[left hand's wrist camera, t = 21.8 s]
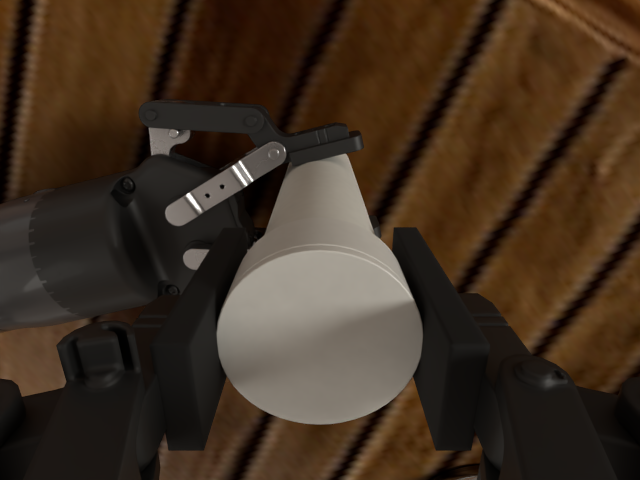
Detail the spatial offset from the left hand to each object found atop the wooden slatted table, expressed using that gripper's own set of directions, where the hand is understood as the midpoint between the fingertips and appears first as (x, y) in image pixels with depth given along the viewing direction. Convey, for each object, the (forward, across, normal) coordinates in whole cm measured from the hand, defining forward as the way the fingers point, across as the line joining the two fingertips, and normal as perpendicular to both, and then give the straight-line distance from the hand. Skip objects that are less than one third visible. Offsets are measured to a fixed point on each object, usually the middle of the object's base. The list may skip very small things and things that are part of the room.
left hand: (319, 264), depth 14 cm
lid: (-4, 0, 0) cm, 4 cm away
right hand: (+9, -3, -1) cm, 9 cm away
